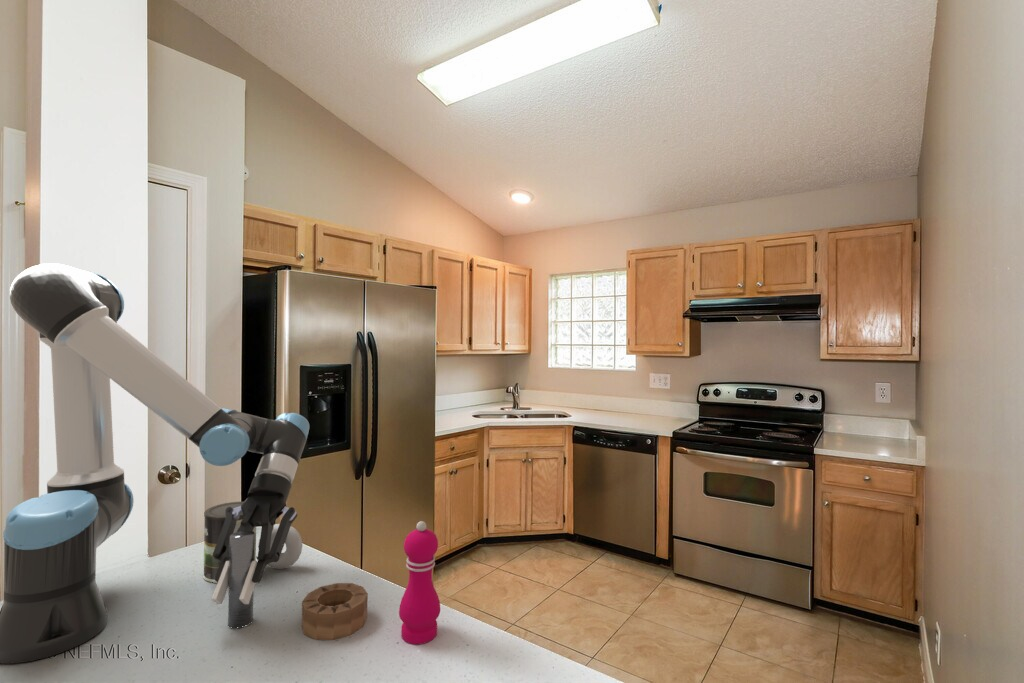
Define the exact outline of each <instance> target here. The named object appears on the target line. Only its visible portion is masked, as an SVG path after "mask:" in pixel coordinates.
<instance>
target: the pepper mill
mask: <svg viewBox="0 0 1024 683" xmlns="http://www.w3.org/2000/svg"><path fill="white" fill-rule="evenodd" d="M438 548H439V540H438V537H437V535H436V534H435V532H434V531H432V530H430V529H428V528H427V523H426V522H425V521H423V520H420V521H419V522H417V523H416V528H415V529H414V530H412V531H410V532H409V533H408V534H407V536H405V539H404V542H403V550H404V553H405V555H406V556H407V558H406V560H405V561H406V564H405V566H406V569H407V570H408V573H409V575H408V583H407V586H406V588H405V590H404V593H403V596H402V597H401V598H400V599H401V600H400V603H399V609H398V616H399V619H400V620H401V621H402V624H401V627H400V628H401V632H400V633H401V638H402V640H403V641H404V642H406V643H408V644H411V645H422V644H426V643H428V642H431V641H432V640H434V639H435V638H436V636H437V634H438V621H437V619H438V618H439V615H440V613H441V602H440V597H439V595H438V593H437V591H436V589H435V587H434V583H433V576H432V573H433V568H434V567H435V565H436V562H435V561H436V557H435V554H436V553H437V551H438Z"/></svg>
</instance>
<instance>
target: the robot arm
mask: <svg viewBox="0 0 1024 683" xmlns="http://www.w3.org/2000/svg"><path fill="white" fill-rule="evenodd" d="M9 300H10V304H11V306H12V308H13V309H14V312H15V313H16V314H17V315H18V316H19V318H21V319H22V320H23V321H24V322H25V323H26V324H27V325H29V326H30V327H32V328H33V329H34V330H36V331H37V332H38V333H39V334H38V336H39V341H41V342H42V343H44V344H45V345H46V346H48V347H49V348H50V354H51V375H52V393H53V394H52V396H53V412H54V413H53V414H54V430H55V431H54V432H55V433H54V434H55V436H54V437H55V450H56V451H55V452H56V469H57V470H56V472H55V474H54V475H53V476H52V477H51V478H50V479H49V480H47V482H46V493H45V494H41V495H40V496H38V497H32V498H28V499H27V500H24V501H23V502H21V503H19V504H18V505H16V506H15V507H13V509H11V510H10V511H9V513H8V515H7V517H6V519H5V527H4V530H3V532H2V534H3V541H4V544H3V546H4V548H3V549H4V552H3V555H4V556H3V558H4V559H3V561H4V562H3V570H4V571H3V602H2V606H1V607H0V664H20V663H21V664H22V663H28V662H31V661H32V662H33V661H36V660H37V661H38V660H43V659H46V658H49V657H52V656H55V655H59V654H61V653H63V652H66V651H69V650H71V649H74V648H76V647H78V646H80V645H82V644H84V643H86V642H88V641H89V640H91V639H93V638H94V637H95V636H97V635H98V634H100V632H102V630H103V629H104V628H105V627H106V626H107V622H108V607H107V605H106V603H105V602H104V600H103V597H102V595H101V592H100V589H99V587H98V584H97V582H96V580H97V579H96V578H97V577H96V569H97V568H96V567H97V566H96V565H97V548H98V547H100V546H101V545H102V544H103V543H104V542H105V541H107V539H109V538H110V537H111V536H113V535H114V534H115V533H117V532H118V531H119V529H122V527H123V526H124V524H125V523H126V522H127V520H128V519H129V517H130V515H131V512H132V511H133V507H134V494H133V492H132V489H131V487H130V486H129V485H128V484H126V483H125V471H124V469H123V468H121V467H120V466H118V465H116V463H115V459H114V455H115V454H114V437H113V436H114V435H113V434H114V433H113V416H112V414H113V413H112V412H113V411H112V396H111V394H112V393H111V380H112V381H113V382H114V383H115V384H117V385H118V386H119V387H121V388H122V389H123V390H125V391H126V392H128V394H130V395H131V396H132V397H134V398H135V399H137V400H138V402H140V403H141V404H143V405H144V406H145V407H146V408H148V409H149V410H150V411H152V412H153V414H156V416H158V417H160V418H161V419H162V420H163V421H165V422H166V423H167V424H168V425H170V426H171V427H172V428H173V429H175V430H176V431H178V432H179V433H180V434H182V435H183V436H184V437H185V438H186V439H188V440H189V441H191V443H193V444H194V445H195V446H197V447H198V448H199V452H200V455H201V458H203V461H205V462H207V464H210V465H213V466H216V467H224V466H229V465H233V464H235V462H237V461H238V460H240V459H241V458H243V457H244V456H245V455H246V454H247V452H251V453H256V454H260V455H261V454H262V456H261V458H260V461H259V463H258V466H257V468H256V471H255V473H254V477H253V479H252V481H251V484H250V487H249V489H248V491H247V494H246V499H245V500H244V501H242V502H243V503H242V505H241V506H239V507H236V508H233V509H232V507H228V508H226V511H225V512H226V519H225V522H224V524H223V527H222V530H221V533H220V535H219V538H218V541H217V544H216V546H215V549H214V552H213V557H214V558H215V559H216V560H217V561H218V562H221V563H220V566H219V569H218V571H217V574H216V576H215V580H216V581H217V582H218V583H216V586H215V588H214V592H213V594H212V597H211V600H212V601H213V602H214V603H215V604H216V605H222V604H223V601H224V599H225V597H226V594H227V592H228V590H229V551H230V535H232V534H233V532H234V529H235V526H236V522H237V520H238V519H239V516H240V514H241V513H242V512H243V515H244V518H243V519H242V521H241V525H240V527H239V529H238V530H237V532H240V531H253V529H254V527H255V526H256V527H258V526H261V529H260V530H261V531H260V536H259V540H260V543H259V542H258V546H259V548H258V552H257V556H256V559H257V560H255V561H252V563H251V566H250V569H249V572H248V574H247V577H246V580H245V583H244V586H243V589H242V592H241V595H240V598H239V599H240V601H241V602H242V603H243V604H249V601H250V598H251V595H252V592H253V593H254V589H255V587H256V584H260V583H261V581H262V579H263V576H264V574H265V570H266V568H267V566H268V565H267V564H269V563H271V562H277V561H278V560H279V558H280V555H281V553H283V552H282V551H283V550H284V546H285V545H286V544H285V541H286V538H287V535H288V532H289V529H290V527H291V526H292V524H293V522H294V521H295V520H296V519H297V517H298V513H297V510H296V509H295V508H294V507H293V506H291V507H288V506H287V504H286V503H287V501H288V498H289V495H290V492H291V489H292V484H293V482H294V479H295V476H296V474H297V469H298V467H299V463H300V460H301V458H302V454H303V452H304V449H305V446H306V443H307V441H308V440H307V439H308V435H309V430H310V423H309V421H308V419H307V418H306V417H304V416H303V415H301V414H299V413H296V412H290V413H288V412H283V413H281V414H280V415H278V416H277V417H276V419H270V418H265V417H262V416H261V417H260V416H258V415H253V414H249V413H245V412H242V411H237V410H236V409H227V408H223V407H220V406H219V405H218V404H216V402H214V401H213V400H212V399H211V398H209V397H208V396H207V395H206V394H205V393H203V392H202V391H201V390H200V389H199V388H197V387H196V386H195V385H194V384H192V383H191V382H190V381H189V380H187V379H186V378H184V376H182V374H180V373H178V372H177V371H176V370H175V369H173V367H171V366H170V365H169V364H167V363H166V361H164V360H162V358H160V357H159V356H158V355H156V354H155V353H154V352H153V351H151V350H150V349H149V348H148V347H146V346H145V345H144V343H142V342H140V341H139V340H138V339H137V338H136V337H134V336H133V335H132V334H131V333H130V332H128V331H127V330H126V329H125V328H123V327H122V326H121V325H119V324H118V321H119V320H120V319H121V317H122V315H123V313H124V309H125V300H124V297H123V294H122V292H121V290H120V289H119V288H118V286H117V285H116V284H115V283H113V282H112V281H111V280H109V279H107V277H104V276H103V275H101V274H98V273H96V272H93V271H89V270H82V269H79V268H75V267H72V266H69V265H67V264H66V265H65V264H61V263H41V264H38V265H33V266H31V267H29V268H27V269H25V270H23V271H22V272H20V273H19V274H18V275H17V276H16V277H15V278H14V280H13V282H12V283H11V286H10V288H9ZM281 516H282V517H281ZM280 517H281V520H280V523H279V524H280V525H279V527H278V530H277V533H276V536H275V538H274V541H273V544H272V547H271V549H270V544H271V536H272V530H273V527H274V525H275V521H276V520H277V519H278V518H280Z"/></svg>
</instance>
